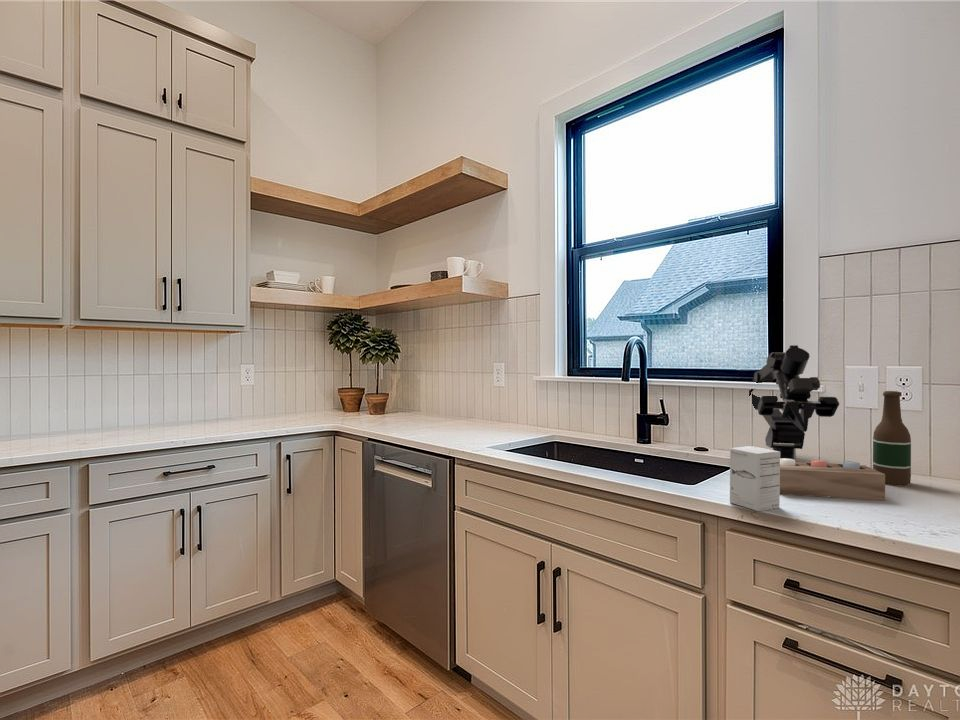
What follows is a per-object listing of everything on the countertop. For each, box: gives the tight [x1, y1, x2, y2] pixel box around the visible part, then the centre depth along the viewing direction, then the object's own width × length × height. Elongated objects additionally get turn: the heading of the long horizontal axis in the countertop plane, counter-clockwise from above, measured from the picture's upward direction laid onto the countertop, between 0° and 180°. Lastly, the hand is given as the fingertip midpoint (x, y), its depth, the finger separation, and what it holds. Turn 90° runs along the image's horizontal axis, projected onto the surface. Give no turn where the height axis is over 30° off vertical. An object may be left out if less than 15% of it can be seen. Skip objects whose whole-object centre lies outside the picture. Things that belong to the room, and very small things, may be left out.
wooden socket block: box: [780, 461, 886, 501], centre depth 126 cm, size 10×22×6 cm, turn 75°
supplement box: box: [729, 445, 781, 512], centre depth 115 cm, size 7×7×13 cm
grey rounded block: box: [842, 460, 861, 469], centre depth 126 cm, size 3×3×4 cm
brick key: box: [810, 459, 828, 467], centre depth 128 cm, size 3×3×4 cm
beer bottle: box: [872, 390, 912, 487], centre depth 135 cm, size 8×8×24 cm
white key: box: [780, 458, 796, 466], centre depth 130 cm, size 3×3×4 cm
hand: (805, 430), depth 136 cm, fingers closed
